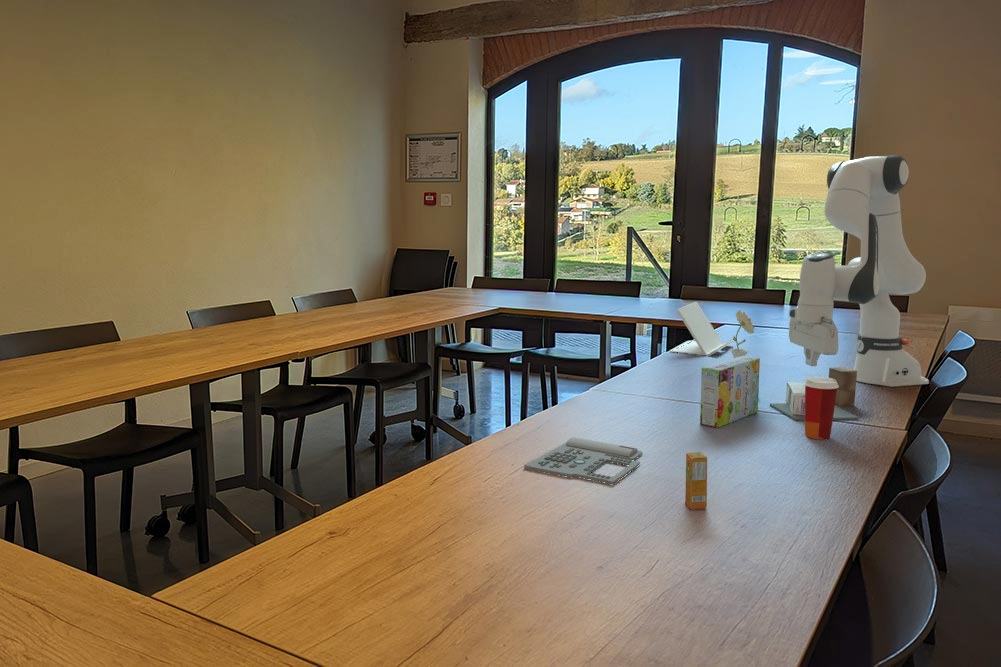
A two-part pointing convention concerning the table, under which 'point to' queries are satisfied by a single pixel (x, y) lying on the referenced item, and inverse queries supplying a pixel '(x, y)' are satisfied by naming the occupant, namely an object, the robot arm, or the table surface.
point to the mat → (783, 407)
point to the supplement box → (696, 480)
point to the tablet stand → (699, 332)
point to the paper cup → (819, 406)
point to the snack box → (729, 390)
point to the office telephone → (585, 459)
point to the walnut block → (844, 385)
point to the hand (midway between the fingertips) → (811, 365)
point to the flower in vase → (748, 327)
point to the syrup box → (796, 398)
